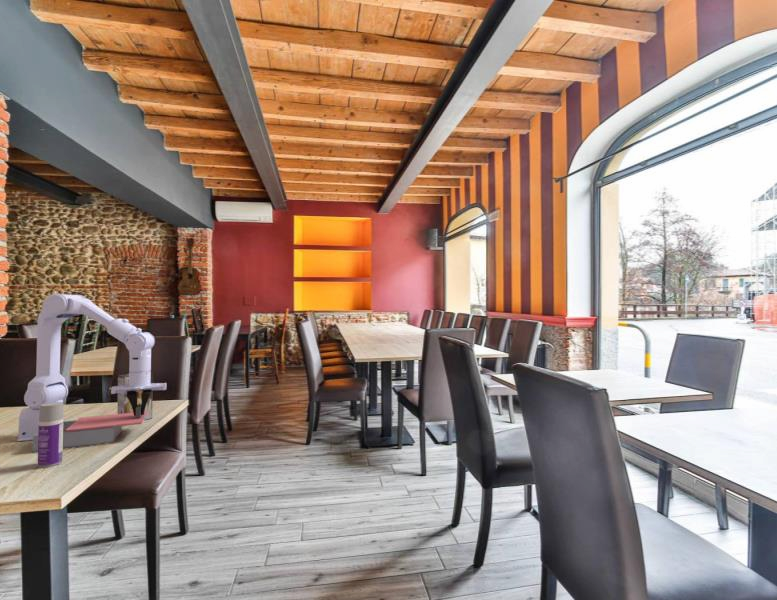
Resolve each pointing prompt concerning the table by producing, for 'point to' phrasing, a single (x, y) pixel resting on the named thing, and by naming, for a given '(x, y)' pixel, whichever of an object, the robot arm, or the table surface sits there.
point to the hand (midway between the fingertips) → (139, 414)
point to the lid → (108, 420)
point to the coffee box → (125, 404)
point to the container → (50, 434)
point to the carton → (84, 436)
